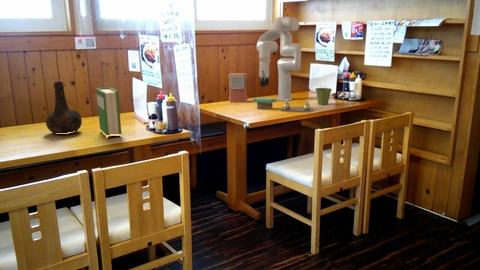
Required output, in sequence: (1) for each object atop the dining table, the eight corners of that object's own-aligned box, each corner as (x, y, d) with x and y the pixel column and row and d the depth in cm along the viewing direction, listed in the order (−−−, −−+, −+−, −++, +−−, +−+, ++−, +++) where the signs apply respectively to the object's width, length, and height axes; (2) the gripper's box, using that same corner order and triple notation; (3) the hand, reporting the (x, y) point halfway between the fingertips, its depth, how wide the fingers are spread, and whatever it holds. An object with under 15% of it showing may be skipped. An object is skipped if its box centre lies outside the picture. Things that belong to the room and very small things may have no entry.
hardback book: (121, 137, 218) (117, 91, 212) (107, 139, 215) (102, 92, 209) (114, 130, 233) (110, 87, 227) (100, 132, 230) (96, 88, 224)
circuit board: (254, 100, 294) (254, 97, 294) (277, 101, 290) (277, 98, 289) (252, 102, 288) (252, 99, 287) (275, 102, 283) (275, 99, 283)
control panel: (229, 101, 322) (248, 101, 321) (227, 102, 316) (247, 102, 314) (228, 73, 317) (248, 73, 316) (227, 74, 311) (247, 74, 309)
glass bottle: (83, 135, 223) (77, 82, 216) (46, 138, 217) (39, 84, 210) (82, 128, 239) (77, 79, 233) (48, 131, 233) (42, 80, 227)
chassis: (283, 107, 292) (283, 97, 290) (312, 109, 286) (312, 98, 285) (280, 111, 281) (280, 100, 279) (310, 112, 275) (310, 101, 274)
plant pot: (329, 106, 296) (330, 90, 293) (313, 105, 300) (313, 89, 298) (332, 103, 307) (333, 88, 304) (316, 102, 311) (317, 87, 308)
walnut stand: (258, 108, 293) (258, 101, 291) (272, 108, 290) (272, 101, 289) (257, 108, 290) (257, 101, 289) (271, 109, 287) (271, 102, 286)
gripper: (262, 59, 291) (262, 84, 295) (256, 60, 275) (256, 87, 278) (272, 59, 289) (272, 84, 293) (267, 61, 272) (267, 87, 276)
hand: (264, 85), depth 285 cm, fingers open, 9 cm apart
